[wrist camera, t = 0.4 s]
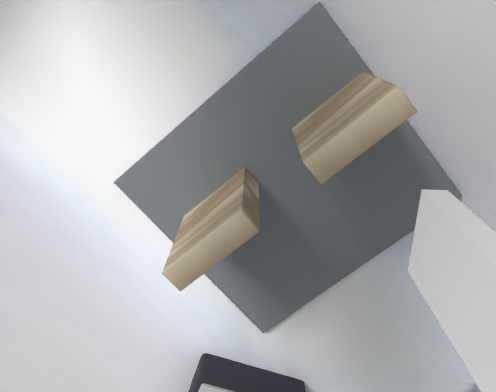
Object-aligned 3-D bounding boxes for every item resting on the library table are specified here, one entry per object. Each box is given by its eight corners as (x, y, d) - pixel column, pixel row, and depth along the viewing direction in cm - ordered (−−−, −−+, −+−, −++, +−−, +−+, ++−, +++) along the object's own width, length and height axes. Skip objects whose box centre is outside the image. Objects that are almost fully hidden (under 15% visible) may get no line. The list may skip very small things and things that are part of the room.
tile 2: (291, 128, 38) (303, 162, 28) (362, 71, 36) (399, 87, 26) (306, 146, 38) (322, 186, 29) (376, 90, 36) (418, 113, 27)
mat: (115, 180, 40) (113, 182, 39) (318, 2, 35) (319, 1, 34) (263, 330, 45) (263, 333, 44) (460, 194, 40) (462, 195, 39)
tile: (183, 215, 40) (162, 273, 31) (244, 166, 39) (241, 211, 29) (198, 231, 41) (181, 292, 31) (259, 183, 39) (260, 233, 30)
